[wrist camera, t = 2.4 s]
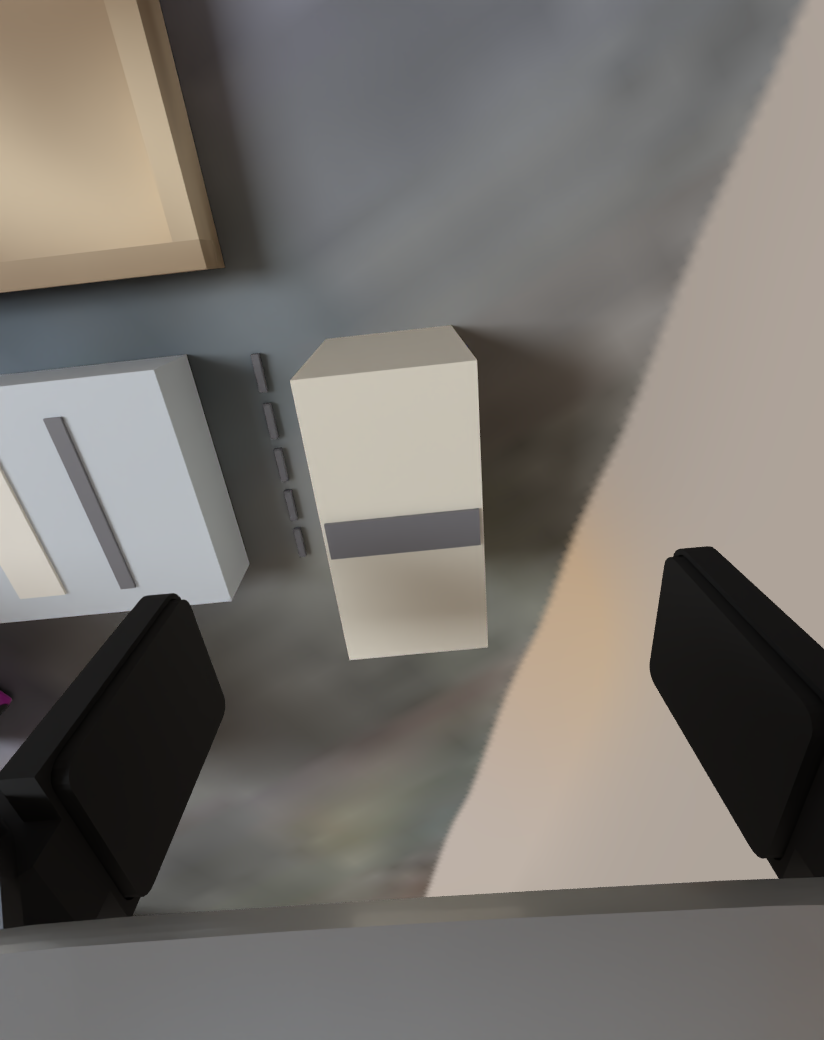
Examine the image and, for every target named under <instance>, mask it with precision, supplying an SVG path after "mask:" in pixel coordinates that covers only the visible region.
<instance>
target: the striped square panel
mask: <svg viewBox="0 0 824 1040" xmlns="http://www.w3.org/2000/svg"><path fill="white" fill-rule="evenodd" d="M248 566H249V560H248V557H247V554H246V550H245V547H244V544H243V541H242V537H241V534H240V531H239V527H238V524H237V521H236V517H235V514H234V511H233V507H232V504H231V501H230V497H229V494H228V491H227V488H226V484H225V481H224V478H223V474H222V471H221V468H220V464H219V461H218V458H217V454H216V451H215V448H214V444H213V441H212V438H211V435H210V431H209V428H208V425H207V421H206V418H205V415H204V411H203V408H202V405H201V401H200V398H199V395H198V391H197V388H196V385H195V382H194V378H193V375H192V372H191V368H190V365H189V362H188V358H187V355H177V356H168V357H159V358H150V359H141V360H132V361H123V362H114V363H104V364H95V365H86V366H77V367H68V368H59V369H50V370H41V371H32V372H22V373H13V374H4V375H0V623H9V622H20V621H30V620H41V619H51V618H61V617H72V616H82V615H93V614H103V613H113V612H124V611H131V610H132V609H133V608H134V607H135V605H136V604H137V603H138V602H139V600H140V599H141V598H142V597H144V596H147V595H158V594H169V593H175V594H177V595H178V596H179V597H180V598H181V600H187V601H188V602H189V604H190V605H197V604H207V603H218V602H228V601H232V599H233V597H234V595H235V593H236V591H237V589H238V587H239V585H240V583H241V581H242V579H243V576H244V574H245V572H246V570H247V568H248Z"/></svg>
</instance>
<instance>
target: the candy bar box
mask: <svg viewBox="0 0 824 1040" xmlns="http://www.w3.org/2000/svg"><path fill="white" fill-rule="evenodd" d="M11 701H12V698H11V697H9V696H8V695H6V694H5V693H3V692H2V691H0V715H1V714H2V713H3V712H4V710H5V709H6V708H7V707H8V705H9V704H10V703H11Z"/></svg>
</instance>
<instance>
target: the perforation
mask: <svg viewBox="0 0 824 1040" xmlns="http://www.w3.org/2000/svg"><path fill="white" fill-rule="evenodd" d="M251 359H252V363H253V368H254V372H255V376H256V380H257V384H258V388H259V392H260V393H263V392H267V391H268V387H267V383H266V379H265V374H264V370H263V366H262V362H261V357H260V353H256V354H251ZM263 409H264V413H265V417H266V421H267V425H268V429H269V433H270V437H271V439H278V438H279V434H278V430H277V425H276V421H275V417H274V413H273V408H272V404H271V403H264V404H263ZM274 454H275V458H276V462H277V466H278V470H279V474H280V478H281V482H286V481H288V480H289V477H288V472H287V468H286V464H285V460H284V455H283V451H282V448H275V449H274ZM284 495H285V499H286V503H287V507H288V511H289V515H290V519H291V521H297V520H298V515H297V511H296V506H295V502H294V498H293V494H292V489H287V490H285V491H284ZM293 532H294V536H295V540H296V544H297V548H298V552H299V556H300V557H306V555H307V553H306V549H305V545H304V540H303V536H302V532H301V528H300V527H298V528H294V530H293Z"/></svg>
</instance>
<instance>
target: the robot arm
mask: <svg viewBox="0 0 824 1040" xmlns="http://www.w3.org/2000/svg"><path fill="white" fill-rule="evenodd" d="M650 673H651V677H652V680H653V682H654V684H655V686H656V688H657V689H658V691H659V693H660V694H661V696H662V698H663V700H664V701H665V703H666V705H667V706H668V708H669V710H670V712H671V713H672V715H673V717H674V718H675V720H676V722H677V724H678V725H679V727H680V728H681V730H682V732H683V734H684V735H685V737H686V739H687V740H688V742H689V744H690V746H691V747H692V749H693V751H694V752H695V754H696V756H697V758H698V759H699V761H700V763H701V764H702V766H703V768H704V769H705V771H706V773H707V775H708V776H709V778H710V780H711V781H712V783H713V785H714V786H715V788H716V790H717V792H718V793H719V795H720V797H721V798H722V800H723V802H724V803H725V805H726V807H727V808H728V810H729V812H730V814H731V815H732V817H733V819H734V821H735V822H736V824H737V826H738V827H739V829H740V831H741V832H742V834H743V836H744V838H745V839H746V841H747V843H748V844H749V846H750V847H751V849H752V850H753V852H754V853H755V854H756V855H757V856H758V857H760V858H767V860H768V861H769V863H770V865H771V866H772V868H773V870H774V871H775V873H776V875H777V876H778V878H779V879H759V880H758V879H757V880H730V881H709V882H693V883H692V882H691V883H673V884H655V885H636V886H618V887H598V888H582V889H581V888H580V889H562V890H543V891H526V892H509V893H493V894H475V895H459V896H442V897H424V898H408V899H392V900H375V901H359V902H342V903H326V904H310V905H295V906H280V907H265V908H249V909H234V910H219V911H204V912H189V913H173V914H158V915H143V916H132V915H133V913H134V911H135V908H136V906H137V904H138V901H139V899H140V897H144V896H145V895H147V894H148V892H149V891H150V890H151V888H152V886H153V884H154V882H155V879H156V877H157V875H158V872H159V870H160V867H161V865H162V863H163V860H164V858H165V855H166V853H167V851H168V848H169V846H170V843H171V841H172V839H173V836H174V834H175V831H176V829H177V827H178V824H179V822H180V819H181V817H182V815H183V812H184V810H185V807H186V805H187V802H188V800H189V798H190V795H191V793H192V790H193V788H194V786H195V783H196V781H197V778H198V776H199V774H200V771H201V769H202V766H203V764H204V762H205V759H206V757H207V754H208V752H209V750H210V747H211V745H212V742H213V740H214V738H215V735H216V733H217V730H218V728H219V725H220V723H221V721H222V718H223V715H224V711H225V699H224V695H223V692H222V690H221V687H220V684H219V682H218V679H217V676H216V674H215V671H214V668H213V665H212V663H211V660H210V657H209V655H208V652H207V649H206V646H205V644H204V641H203V638H202V636H201V633H200V630H199V628H198V625H197V622H196V619H195V617H194V614H193V611H192V609H191V606H190V604H189V602H188V601H187V600H181V598H180V597H179V596H178V595H177V594H175V593H169V594H158V595H147V596H144V597H142V598H141V599H140V600H139V602H138V603H137V604H136V605H135V607H134V608H133V609H132V610H131V611H130V613H129V614H128V615H127V616H126V618H125V619H124V620H123V621H122V622H121V624H120V625H119V626H118V627H117V629H116V630H115V631H114V632H113V634H112V635H111V636H110V637H109V638H108V640H107V641H106V642H105V643H104V645H103V646H102V647H101V648H100V650H99V651H98V652H97V653H96V654H95V656H94V657H93V658H92V659H91V661H90V662H89V663H88V664H87V666H86V667H85V668H84V669H83V670H82V672H81V673H80V674H79V675H78V677H77V678H76V679H75V680H74V682H73V683H72V684H71V685H70V686H69V688H68V689H67V690H66V691H65V693H64V694H63V695H62V696H61V698H60V699H59V700H58V701H57V702H56V704H55V705H54V706H53V707H52V709H51V710H50V711H49V712H48V714H47V715H46V716H45V717H44V718H43V720H42V721H41V722H40V723H39V725H38V726H37V727H36V728H35V730H34V731H33V732H32V733H31V734H30V736H29V737H28V738H27V739H26V741H25V742H24V743H23V744H22V746H21V747H20V748H19V749H18V750H17V752H16V753H15V754H14V755H13V757H12V758H11V759H10V760H9V762H8V763H7V764H6V765H5V766H4V768H3V769H2V770H1V771H0V1040H824V649H823V648H822V647H821V646H820V645H819V644H818V643H817V642H816V641H815V640H813V639H812V638H811V637H810V636H809V635H808V634H807V633H806V632H805V631H804V630H803V629H802V628H800V627H799V626H798V625H797V624H796V623H795V622H794V621H793V620H792V619H791V618H790V617H788V616H787V615H786V614H785V613H784V612H783V611H782V610H781V609H780V608H779V607H778V606H777V605H775V604H774V603H773V602H772V601H771V600H770V599H769V598H768V597H767V596H766V595H765V594H763V593H762V592H761V591H760V590H759V589H758V588H757V587H756V586H755V585H754V584H753V583H752V582H750V581H749V580H748V579H747V578H746V577H745V576H744V575H743V574H742V573H741V572H740V571H739V570H737V569H736V568H735V567H734V566H733V565H732V564H731V563H730V562H729V561H728V560H727V559H726V558H724V557H723V556H722V555H721V554H720V553H719V552H718V551H717V550H716V549H714V548H713V547H696V548H685V549H678V550H677V551H676V552H675V553H674V556H673V557H669V558H668V559H667V560H666V561H665V565H664V571H663V578H662V585H661V592H660V598H659V605H658V612H657V618H656V625H655V632H654V639H653V645H652V651H651V658H650Z"/></svg>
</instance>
